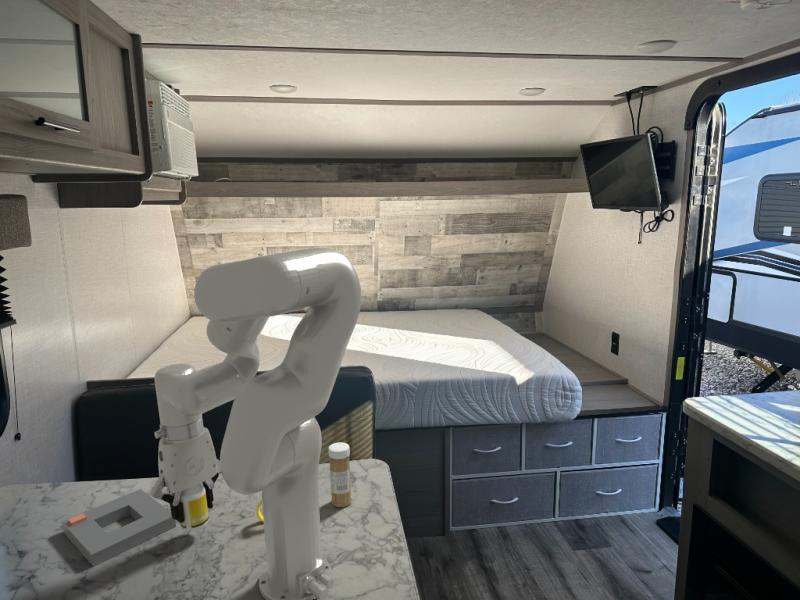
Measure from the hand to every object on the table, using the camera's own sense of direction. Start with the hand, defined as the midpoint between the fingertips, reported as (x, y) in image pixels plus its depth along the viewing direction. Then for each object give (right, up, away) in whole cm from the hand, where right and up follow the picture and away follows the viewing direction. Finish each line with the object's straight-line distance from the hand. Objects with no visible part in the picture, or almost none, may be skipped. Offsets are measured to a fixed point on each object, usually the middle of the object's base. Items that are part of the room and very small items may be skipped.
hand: (193, 512), depth 109 cm
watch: (+15, -4, +5) cm, 16 cm away
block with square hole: (-17, -5, +3) cm, 18 cm away
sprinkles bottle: (+28, -3, +12) cm, 31 cm away
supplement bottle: (0, -3, +1) cm, 3 cm away
